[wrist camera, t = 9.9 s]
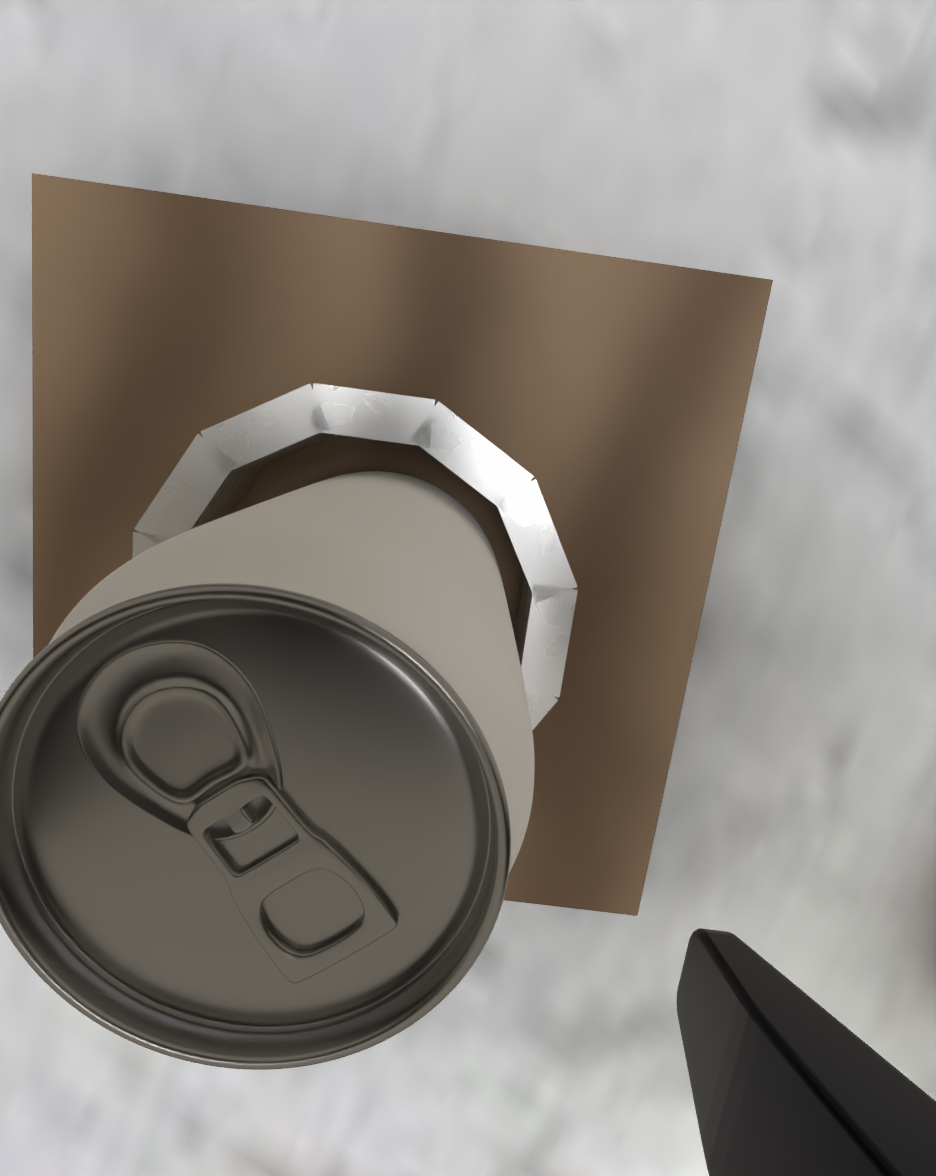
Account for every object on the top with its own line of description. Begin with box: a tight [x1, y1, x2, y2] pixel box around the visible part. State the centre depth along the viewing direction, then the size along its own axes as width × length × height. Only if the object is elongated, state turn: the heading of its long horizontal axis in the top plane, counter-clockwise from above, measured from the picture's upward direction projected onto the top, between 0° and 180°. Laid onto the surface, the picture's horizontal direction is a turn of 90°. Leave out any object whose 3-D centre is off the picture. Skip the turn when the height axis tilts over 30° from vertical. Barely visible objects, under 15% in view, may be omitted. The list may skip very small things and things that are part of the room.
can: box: [0, 471, 535, 1069], centre depth 13 cm, size 6×6×12 cm
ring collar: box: [132, 383, 578, 730], centre depth 18 cm, size 10×10×3 cm
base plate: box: [32, 173, 773, 916], centre depth 19 cm, size 18×18×1 cm
